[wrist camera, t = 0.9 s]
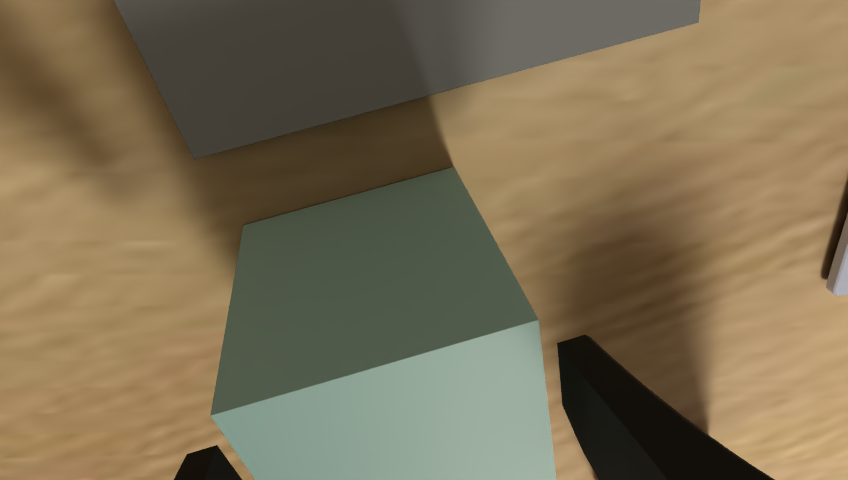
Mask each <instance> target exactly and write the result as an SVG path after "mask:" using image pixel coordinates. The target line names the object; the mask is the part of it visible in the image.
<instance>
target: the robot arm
mask: <svg viewBox="0 0 848 480" xmlns="http://www.w3.org/2000/svg"><path fill="white" fill-rule="evenodd" d="M826 288H827V289H828V290H829V291H830V292H832V293H833V294H834V295H837V296H842V295H847V294H848V213H847V217H846V220H845V223H844V227H843V230H842V233H841V237H840V240H839V243H838V246H837V250H836V253H835V256H834V260H833V263H832V266H831V270H830V273H829V276H828V279H827V283H826ZM557 346H558V357H559V369H560V381H561V392H562V404H563V407H564V409H565V412H566V414H567V416H568V419H569V421H570V423H571V426H572V428H573V430H574V432H575V435H576V437H577V439H578V441H579V444H580V446H581V448H582V450H583V452H584V454H585V456H586V458H587V459H588V461H589V463H590V465H591V466H592V468H593V470H594V472H595V473H596V475H597V477H598V479H599V480H774V479H773V478H771V477H769V476H768V475H766V474H765V473H763V472H762V471H760V470H758V469H757V468H755V467H754V466H752V465H751V464H749V463H748V462H746V461H745V460H743V459H742V458H740V457H739V456H737V455H736V454H734V453H733V452H732V451H730V450H729V449H727V448H726V447H724V446H723V445H722V444H720V443H719V442H717V441H716V440H715V439H713V438H712V437H710V436H709V435H708V434H706V433H705V432H703V431H702V430H701V429H699V428H698V427H697V426H695V425H694V424H693V423H691V422H690V421H689V420H687V419H686V418H685V417H683V416H682V415H681V414H679V413H678V412H677V411H676V410H674V409H673V408H672V407H671V406H669V405H668V404H667V403H665V402H664V401H663V400H662V399H660V398H659V397H658V396H657V395H655V394H654V393H653V392H652V391H650V390H649V389H648V388H647V387H646V386H644V385H643V384H642V383H641V382H640V381H638V380H637V379H636V378H635V377H634V376H633V375H631V374H630V373H629V372H628V371H627V370H626V369H624V368H623V367H622V366H621V365H620V364H619V363H618V362H616V361H615V360H614V359H613V358H612V357H611V356H610V355H609V354H608V353H606V352H605V351H604V350H603V349H602V348H601V347H600V346H599V345H598V344H597V343H596V342H595V341H594V340H593V339H591V338H590V337H589V336H587V335H583V336H580V337H576V338H573V339H570V340H566V341H563V342H560V343H557ZM174 480H242V479H241V478H240V476H239V475H238V473H237V472H236V471H235V469H234V468H233V467H232V465H231V464H230V462H229V461H228V460H227V458H226V457H225V456H224V454H223V453H222V452H221V450H220V449H219V447H218V446H217V445H216V446H213V447H209V448H206V449H203V450H199V451H196V452H193V453H189V454H187V456H186V457H185V459H184V461H183V463H182V465H181V467H180V469H179V470H178V472H177V474H176V476H175V478H174Z"/></svg>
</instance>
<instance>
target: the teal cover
mask: <svg viewBox="0 0 848 480" xmlns="http://www.w3.org/2000/svg"><path fill="white" fill-rule="evenodd" d="M210 416H211V417H212V419H213V420H214V422H215V423H216V424H217V426H218V427H219V429H220V430H221V432H222V433H223V434H224V436H225V437H226V439H227V440H228V442H229V443H230V444H231V446H232V447H233V449H234V450H235V452H236V453H237V454H238V456H239V457H240V459H241V460H242V461H243V463H244V464H245V466H246V467H247V469H248V470H249V471H250V473H251V474H252V476H253V477H254V479H255V480H556V473H555V463H554V454H553V445H552V436H551V427H550V418H549V409H548V400H547V391H546V382H545V373H544V364H543V355H542V346H541V337H540V328H539V320H538V318H537V316H536V314H535V312H534V310H533V309H532V307H531V305H530V303H529V301H528V300H527V298H526V296H525V294H524V292H523V291H522V289H521V287H520V285H519V283H518V281H517V280H516V278H515V276H514V274H513V272H512V271H511V269H510V267H509V265H508V263H507V262H506V260H505V258H504V256H503V254H502V253H501V251H500V249H499V247H498V245H497V243H496V242H495V240H494V238H493V236H492V234H491V233H490V231H489V229H488V227H487V225H486V224H485V222H484V220H483V218H482V216H481V214H480V213H479V211H478V209H477V207H476V205H475V204H474V202H473V200H472V198H471V196H470V195H469V193H468V191H467V189H466V187H465V186H464V184H463V182H462V180H461V178H460V176H459V175H458V173H457V171H456V169H455V167H451V168H448V169H444V170H441V171H437V172H433V173H430V174H426V175H423V176H419V177H415V178H412V179H408V180H405V181H401V182H397V183H394V184H390V185H387V186H383V187H380V188H376V189H372V190H369V191H365V192H362V193H358V194H354V195H351V196H347V197H344V198H340V199H336V200H333V201H329V202H326V203H322V204H318V205H315V206H311V207H308V208H304V209H300V210H297V211H293V212H290V213H286V214H282V215H279V216H275V217H272V218H268V219H264V220H261V221H257V222H254V223H250V224H246V225H243V230H242V236H241V242H240V248H239V254H238V259H237V265H236V271H235V277H234V282H233V288H232V294H231V300H230V306H229V311H228V317H227V323H226V329H225V334H224V340H223V346H222V352H221V358H220V363H219V369H218V375H217V381H216V386H215V392H214V398H213V404H212V410H211V415H210Z"/></svg>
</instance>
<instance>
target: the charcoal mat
mask: <svg viewBox="0 0 848 480" xmlns="http://www.w3.org/2000/svg"><path fill="white" fill-rule="evenodd" d="M700 1H701V0H114V2H115V4H116V6H117V8H118V10H119V12H120V14H121V16H122V18H123V20H124V22H125V24H126V26H127V28H128V30H129V32H130V34H131V36H132V38H133V40H134V42H135V44H136V46H137V48H138V50H139V52H140V54H141V56H142V58H143V60H144V61H145V63H146V65H147V67H148V69H149V71H150V73H151V75H152V77H153V79H154V81H155V83H156V85H157V87H158V89H159V91H160V93H161V95H162V97H163V99H164V101H165V103H166V105H167V107H168V109H169V111H170V113H171V115H172V117H173V119H174V121H175V123H176V125H177V127H178V129H179V131H180V133H181V135H182V137H183V139H184V141H185V143H186V145H187V147H188V149H189V151H190V153H191V155H192V157H193V159H197V158H201V157H204V156H208V155H212V154H215V153H219V152H223V151H226V150H230V149H234V148H238V147H241V146H245V145H249V144H252V143H256V142H260V141H263V140H267V139H271V138H274V137H278V136H282V135H285V134H289V133H293V132H296V131H300V130H304V129H308V128H311V127H315V126H319V125H322V124H326V123H330V122H333V121H337V120H341V119H344V118H348V117H352V116H355V115H359V114H363V113H366V112H370V111H374V110H378V109H381V108H385V107H389V106H392V105H396V104H400V103H403V102H407V101H411V100H414V99H418V98H422V97H425V96H429V95H433V94H436V93H440V92H444V91H448V90H451V89H455V88H459V87H462V86H466V85H470V84H473V83H477V82H481V81H484V80H488V79H492V78H495V77H499V76H503V75H507V74H510V73H514V72H518V71H521V70H525V69H529V68H532V67H536V66H540V65H543V64H547V63H551V62H554V61H558V60H562V59H565V58H569V57H573V56H577V55H580V54H584V53H588V52H591V51H595V50H599V49H602V48H606V47H610V46H613V45H617V44H621V43H624V42H628V41H632V40H635V39H639V38H643V37H647V36H650V35H654V34H658V33H661V32H665V31H669V30H672V29H676V28H680V27H683V26H687V25H691V24H694V23H698V22H699V12H700Z"/></svg>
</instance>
